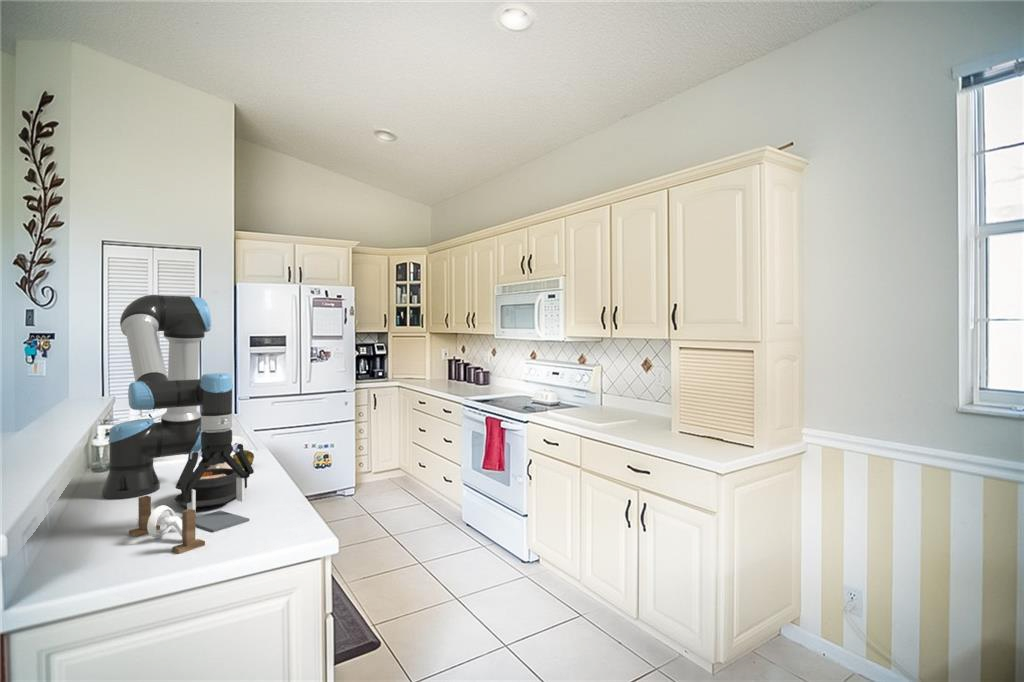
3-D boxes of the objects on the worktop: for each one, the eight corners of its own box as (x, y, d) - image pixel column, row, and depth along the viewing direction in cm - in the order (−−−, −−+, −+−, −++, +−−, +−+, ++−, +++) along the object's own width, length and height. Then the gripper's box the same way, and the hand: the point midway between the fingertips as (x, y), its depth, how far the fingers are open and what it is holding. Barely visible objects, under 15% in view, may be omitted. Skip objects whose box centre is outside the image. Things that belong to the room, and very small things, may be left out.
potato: (216, 472, 199) (215, 451, 199) (254, 468, 205) (254, 447, 205) (214, 477, 192) (214, 455, 192) (254, 473, 198) (254, 452, 198)
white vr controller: (157, 561, 127) (173, 538, 126) (133, 526, 131) (149, 504, 131) (185, 555, 134) (201, 533, 133) (161, 522, 138) (176, 501, 138)
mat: (184, 522, 144) (184, 520, 144) (220, 512, 153) (220, 510, 153) (213, 532, 137) (213, 529, 137) (249, 520, 146) (249, 518, 146)
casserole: (181, 493, 172) (181, 467, 172) (245, 486, 180) (245, 462, 180) (167, 517, 149) (167, 487, 149) (241, 508, 157) (241, 480, 157)
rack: (128, 534, 136) (128, 499, 136) (154, 527, 141) (154, 493, 141) (179, 553, 123) (178, 515, 123) (205, 545, 129) (204, 508, 129)
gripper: (175, 438, 132) (176, 523, 133) (266, 424, 154) (266, 497, 154) (160, 435, 136) (160, 518, 136) (251, 422, 158) (251, 493, 158)
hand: (216, 507), depth 145 cm, fingers open, 13 cm apart
